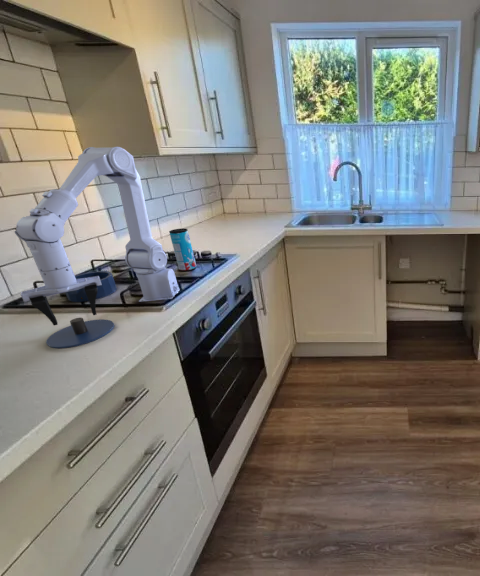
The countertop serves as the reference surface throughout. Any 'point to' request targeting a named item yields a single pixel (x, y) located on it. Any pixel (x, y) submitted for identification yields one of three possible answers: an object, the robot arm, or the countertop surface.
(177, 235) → the beverage can
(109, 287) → the tin
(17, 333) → the countertop surface
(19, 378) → the countertop surface
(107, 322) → the tin lid
